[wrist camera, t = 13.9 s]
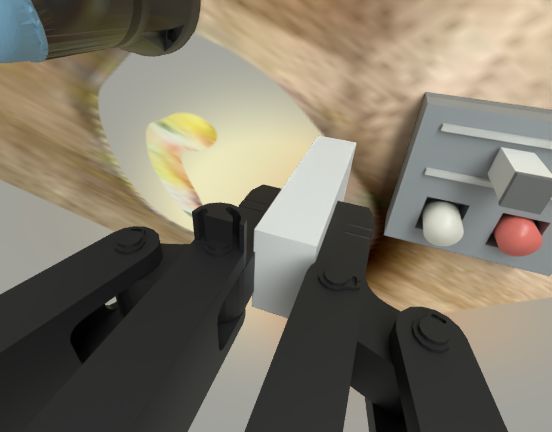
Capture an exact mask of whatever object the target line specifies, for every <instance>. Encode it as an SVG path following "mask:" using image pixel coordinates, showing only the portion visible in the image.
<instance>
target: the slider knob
mask: <svg viewBox="0 0 552 432" xmlns="http://www.w3.org/2000/svg"><path fill="white" fill-rule="evenodd" d="M488 176H489V179H490V181H491V183H492V186H493V188H494V190H495V192H496V195H497V197H498V199H499V202H498V204H499V206H501V207H506V208H511V209H515V210H520V211H525V212H530V213H534V214H539V215H540V214H541V213H542V211H543V210H544V208H545V207H546V205H547V204H548V202H549V201H550V199H551V198H552V174H551V172H550V171H549V170H548V169H547V167H546V166H545V165H544V164H543V162H542V161H541V160H540V159H539V157H538V156H537V155H536V154H535V153H532V152H526V151H521V150H515V149H509V148H503V147H501V148H500V150H499V152H498V154H497V156H496V158H495V160H494V162H493V164H492V166H491V168H490V170H489V172H488Z"/></svg>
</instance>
